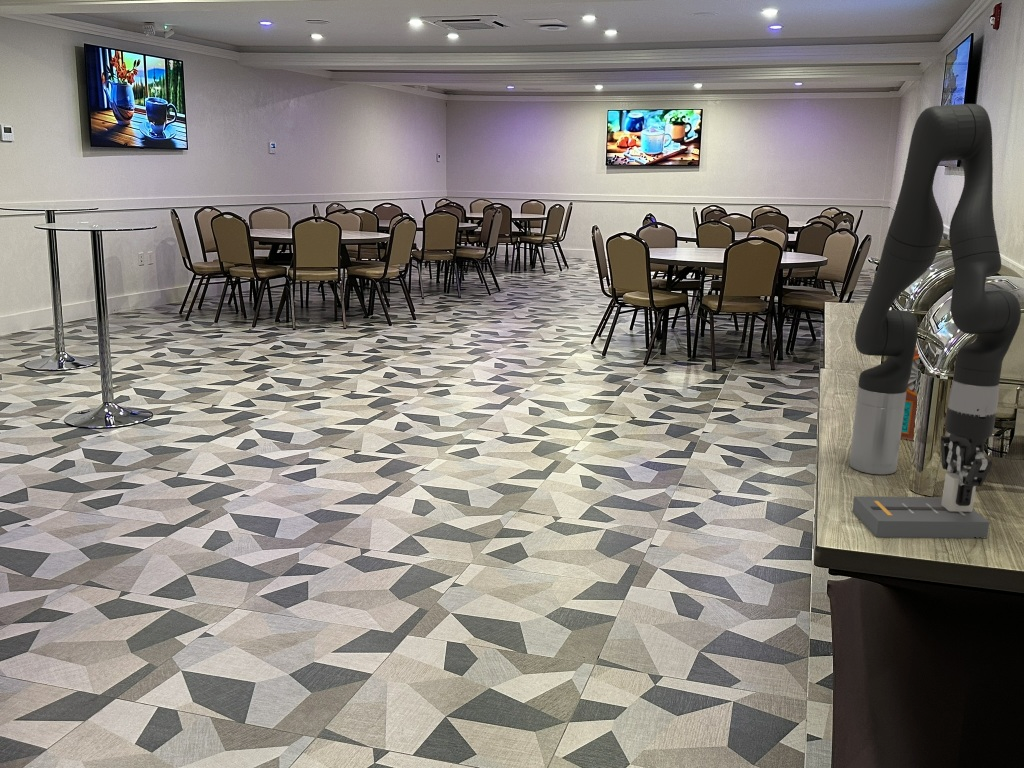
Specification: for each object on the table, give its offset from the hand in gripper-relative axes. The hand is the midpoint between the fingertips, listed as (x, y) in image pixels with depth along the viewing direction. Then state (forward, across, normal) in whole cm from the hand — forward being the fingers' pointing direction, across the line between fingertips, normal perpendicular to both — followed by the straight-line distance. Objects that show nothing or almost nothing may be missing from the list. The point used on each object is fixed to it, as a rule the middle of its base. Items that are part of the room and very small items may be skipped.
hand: (957, 500), depth 156 cm
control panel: (+5, -49, +15) cm, 51 cm away
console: (+5, 0, -6) cm, 8 cm away
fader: (+1, 0, 0) cm, 1 cm away
